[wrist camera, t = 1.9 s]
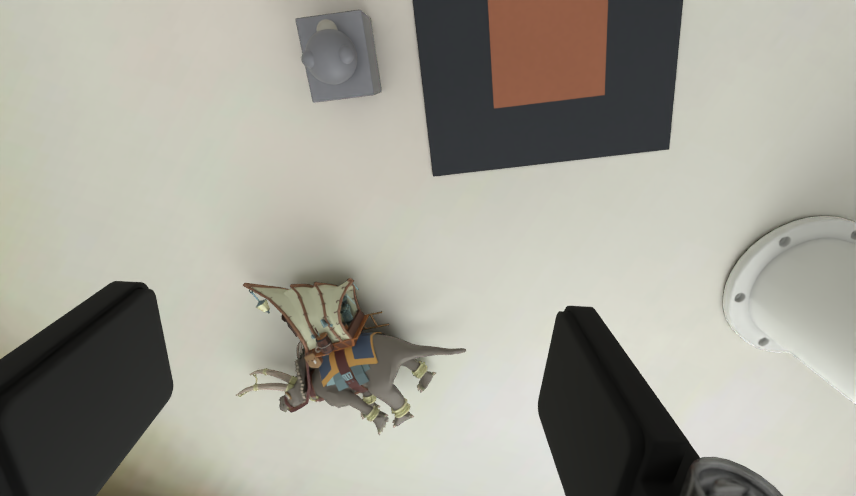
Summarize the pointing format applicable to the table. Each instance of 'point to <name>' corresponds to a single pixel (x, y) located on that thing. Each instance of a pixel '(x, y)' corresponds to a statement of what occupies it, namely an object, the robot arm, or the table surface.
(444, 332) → the table surface
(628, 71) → the mat
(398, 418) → the figurine
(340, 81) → the grey bear
